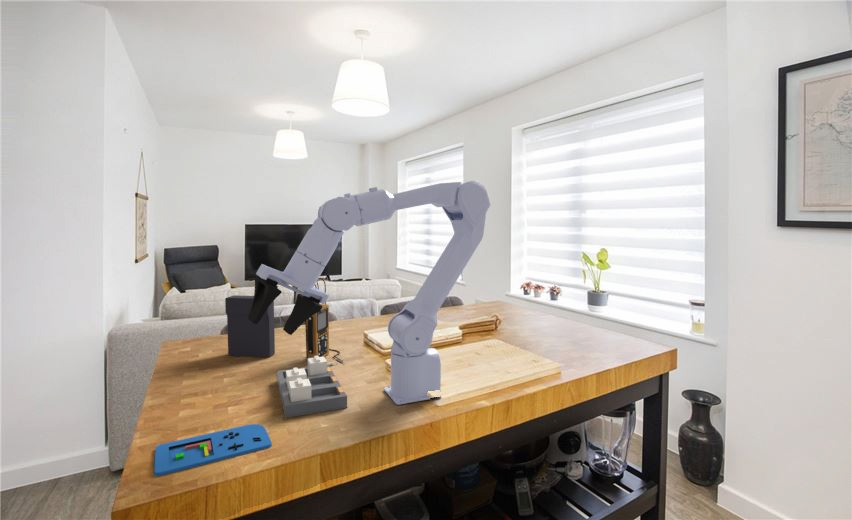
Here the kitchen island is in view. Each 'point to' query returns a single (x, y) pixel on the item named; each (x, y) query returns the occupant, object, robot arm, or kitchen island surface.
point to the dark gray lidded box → (249, 329)
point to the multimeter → (318, 333)
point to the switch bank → (314, 394)
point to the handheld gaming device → (209, 448)
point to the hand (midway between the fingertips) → (270, 327)
